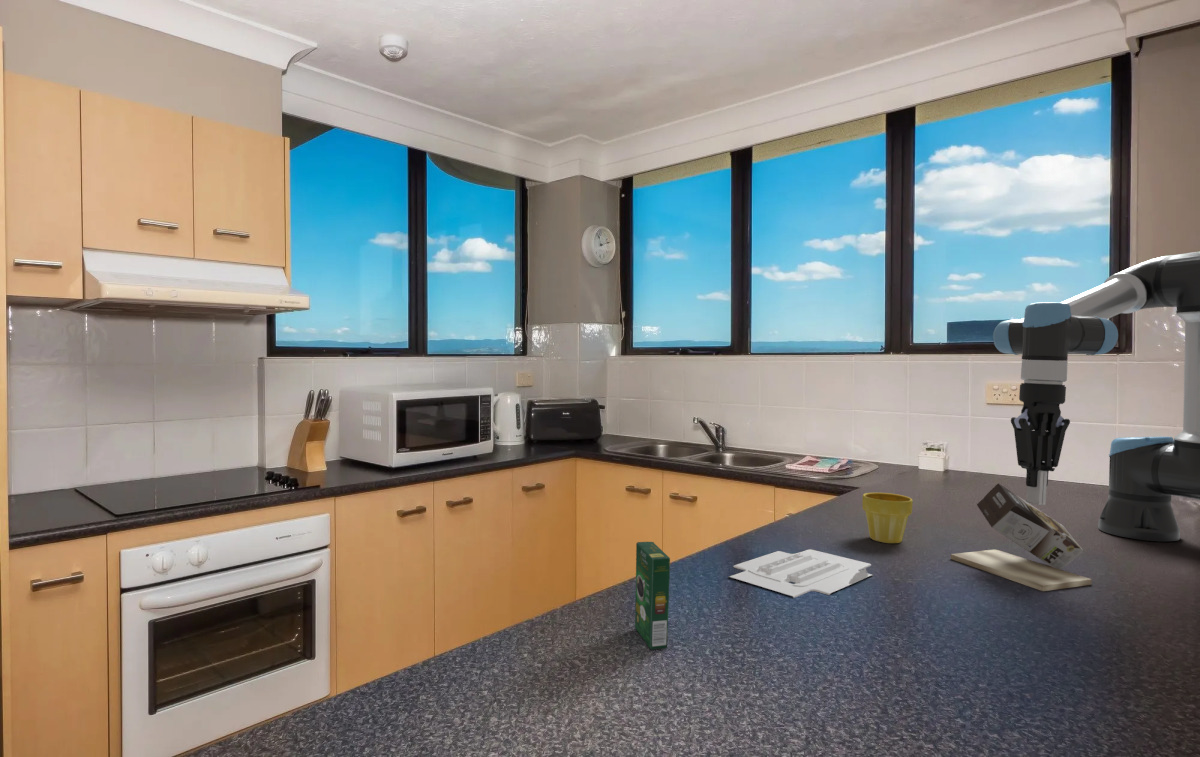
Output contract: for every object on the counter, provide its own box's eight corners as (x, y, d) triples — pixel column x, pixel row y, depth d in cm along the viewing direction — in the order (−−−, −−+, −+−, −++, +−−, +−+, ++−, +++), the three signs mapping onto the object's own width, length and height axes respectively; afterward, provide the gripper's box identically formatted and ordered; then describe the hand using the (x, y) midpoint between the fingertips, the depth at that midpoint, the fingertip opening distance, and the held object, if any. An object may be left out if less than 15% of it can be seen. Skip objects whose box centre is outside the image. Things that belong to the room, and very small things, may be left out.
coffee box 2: (1085, 550, 128) (1015, 505, 127) (1059, 572, 131) (990, 528, 130) (1063, 524, 137) (998, 481, 136) (1039, 545, 139) (974, 503, 138)
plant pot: (902, 534, 158) (903, 492, 157) (918, 546, 147) (919, 502, 147) (856, 532, 159) (857, 491, 158) (869, 545, 148) (870, 500, 148)
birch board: (995, 554, 142) (995, 549, 142) (1091, 584, 124) (1091, 579, 123) (950, 558, 139) (950, 554, 138) (1042, 591, 120) (1043, 585, 120)
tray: (713, 577, 127) (713, 557, 127) (794, 554, 146) (794, 537, 146) (811, 608, 112) (812, 585, 112) (887, 578, 131) (888, 559, 131)
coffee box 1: (670, 649, 94) (671, 555, 94) (650, 651, 93) (651, 557, 93) (652, 627, 102) (653, 540, 101) (634, 628, 101) (635, 541, 101)
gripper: (1049, 382, 138) (1042, 498, 138) (999, 380, 133) (993, 500, 134) (1086, 384, 130) (1079, 506, 131) (1035, 382, 126) (1027, 508, 127)
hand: (1035, 503), depth 133 cm, fingers closed
